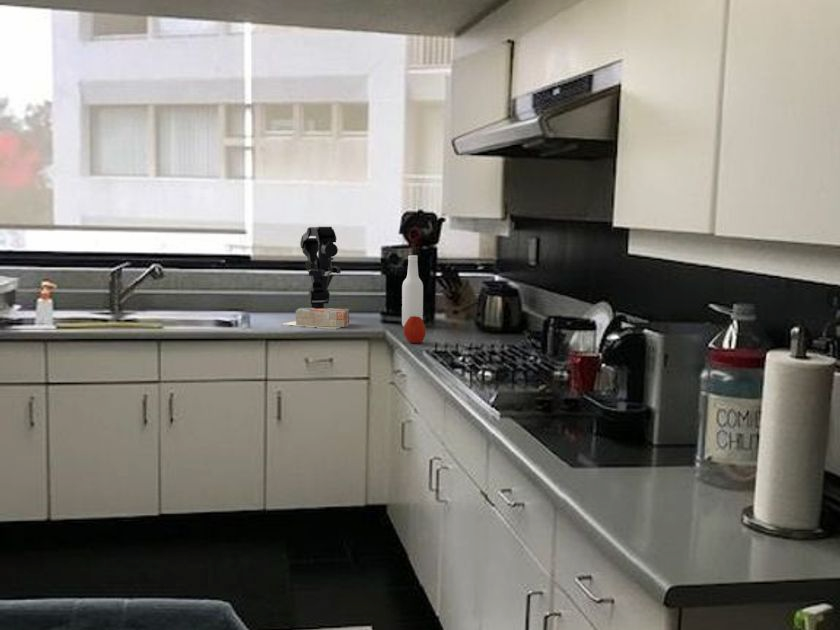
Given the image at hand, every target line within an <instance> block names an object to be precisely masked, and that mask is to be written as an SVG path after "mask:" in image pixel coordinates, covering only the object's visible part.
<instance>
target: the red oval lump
mask: <svg viewBox="0 0 840 630" xmlns="http://www.w3.org/2000/svg"><path fill="white" fill-rule="evenodd" d="M423 320H424V319H423ZM423 320H422V319H421V318H420V317H417V316H411V317H410V318H409V319H408V320H407V322H406V323H405V326H404V327H403V330H402V331H403V335H404V337H405V339H406V341H407V342H409V343H413V344H421V343H423V341H424V339H425V337H426V324H425V323H424V321H423Z"/></svg>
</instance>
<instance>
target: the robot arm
mask: <svg viewBox="0 0 840 630" xmlns="http://www.w3.org/2000/svg"><path fill="white" fill-rule="evenodd" d="M335 243H337V235H336V232H335V229H333V227H332V226H316V227H315V226H313V227H312V226H310V227H307V229H306V231H305V232H304V233H303V234H302V235H301V238H300V245H299V246H300V249H301V250H302V254H304V256H305V257H307V261H305V264H304V268H305V269H306V270H307V272H308V276H309V277H310V280H311V286H310V289H309V292H308V294H307V295H308V296H307V304H309V305H311V307H310V308H320V309H321V308H325V304H327V305H328V304H329V301H330V296H331V293H330V290H329V289H328V288H329V287H330V284H331V281H332V280H333V278H334V277H335V274H341V273H342V271H341V269H342V268H340V267H339V266H332V261H333V260H334V257H335V256H336V255H337V254H338V251H339V249H338V246H337V245H336V244H335Z"/></svg>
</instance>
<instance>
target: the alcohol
mask: <svg viewBox="0 0 840 630" xmlns="http://www.w3.org/2000/svg"><path fill="white" fill-rule="evenodd" d="M407 257H408V258H407V259H408V261H407V263H408V265H407V275H406V278H404V280H403V281H402V285H401V297H402V298H401V304H402V305H401V325H402V327H403V328H404V326H405V323H406V322H407V320H408V319H409V318H410V317H411V316H417V317H420V318H421V319H422V320H424V318H423V317H424V316H423V315H424V284H423V281H422V280H421V278H420V276H419V268H418V267H419V265H418V264H419V263H418V259H419V258H418V257H419V256H418V255H417V254H416V255H415V254H414V255H413V254H411V255H408V256H407Z"/></svg>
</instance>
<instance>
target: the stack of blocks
mask: <svg viewBox="0 0 840 630" xmlns="http://www.w3.org/2000/svg"><path fill="white" fill-rule="evenodd" d="M295 321H296V325H315V326H330V327H342V328H345V327H347V326H346V325H349V324H350V308H331V307H330V308H326V307H324V308H321V309H320V308H311V307H299V308H297V309H296V310H295Z"/></svg>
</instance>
